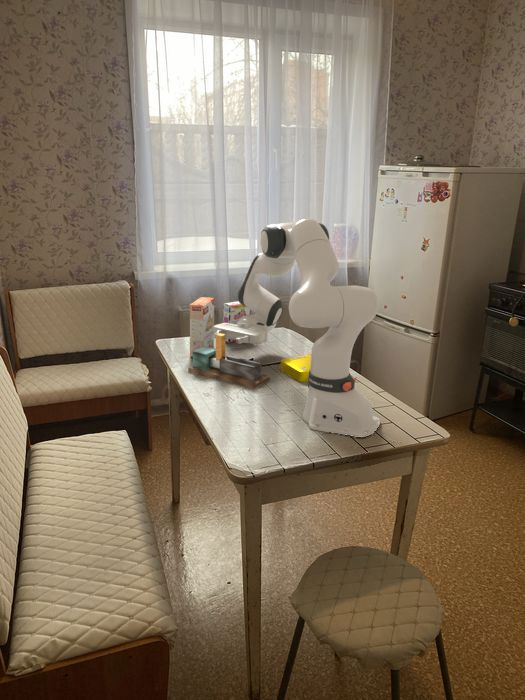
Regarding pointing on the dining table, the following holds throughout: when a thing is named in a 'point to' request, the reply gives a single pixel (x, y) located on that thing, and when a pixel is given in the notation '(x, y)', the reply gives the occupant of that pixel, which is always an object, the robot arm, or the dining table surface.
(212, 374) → the slide bolt latch board
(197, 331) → the cracker box
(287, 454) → the dining table surface
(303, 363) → the element tile
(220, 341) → the post on white base
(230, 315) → the candy bar box
